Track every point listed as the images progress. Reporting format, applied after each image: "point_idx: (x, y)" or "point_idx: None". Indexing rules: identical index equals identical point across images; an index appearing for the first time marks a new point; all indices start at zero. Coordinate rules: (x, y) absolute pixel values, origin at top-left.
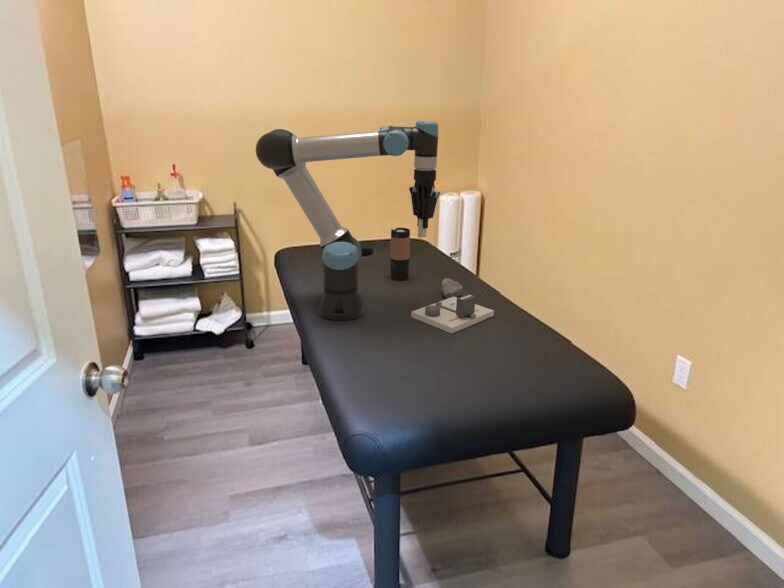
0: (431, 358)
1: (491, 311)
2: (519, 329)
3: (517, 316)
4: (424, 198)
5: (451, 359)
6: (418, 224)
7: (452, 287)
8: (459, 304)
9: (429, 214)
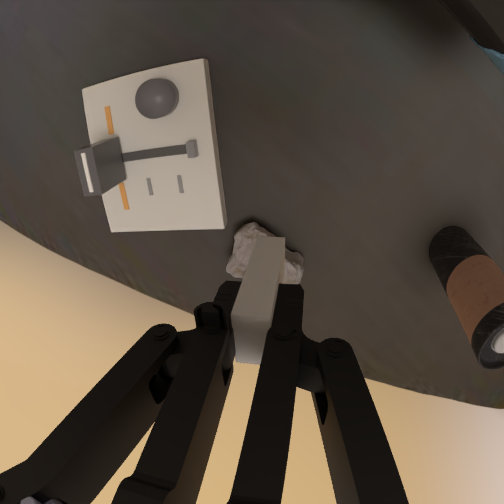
0: (48, 4)
1: (109, 224)
2: (59, 214)
3: (100, 259)
4: (116, 492)
5: (31, 33)
6: (275, 285)
7: (247, 255)
8: (92, 145)
9: (130, 354)
